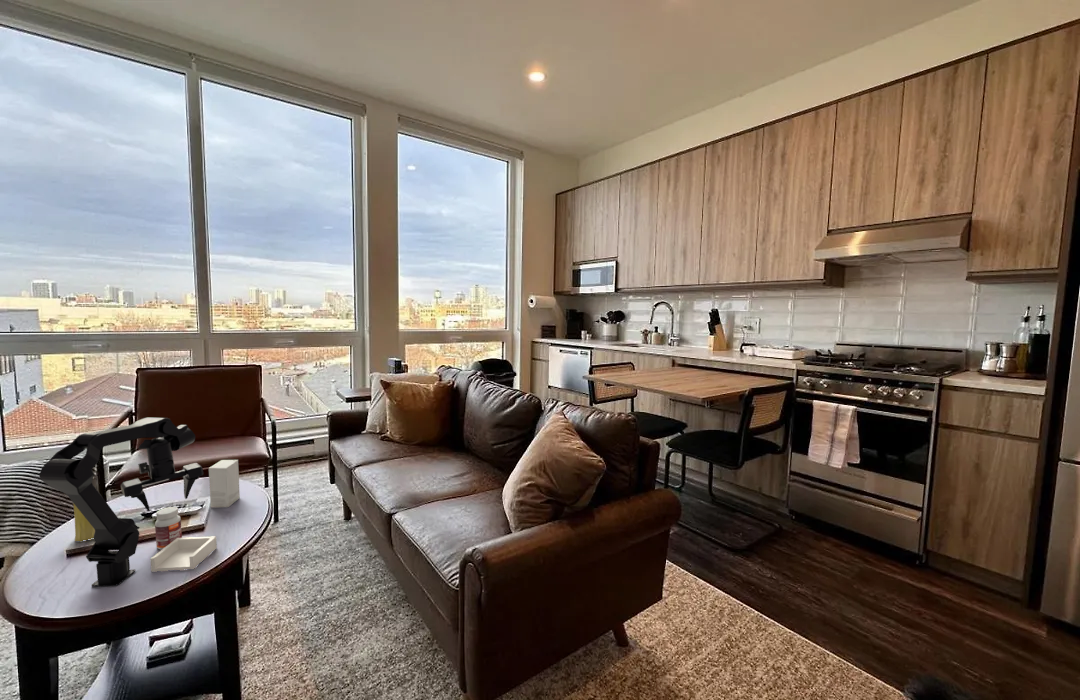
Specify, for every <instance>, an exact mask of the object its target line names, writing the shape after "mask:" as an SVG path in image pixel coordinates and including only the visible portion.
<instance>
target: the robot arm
mask: <svg viewBox="0 0 1080 700" xmlns="http://www.w3.org/2000/svg"><path fill="white" fill-rule="evenodd" d="M188 426H189V425H188V424H180V425H177V426H176V425H175V424H174V423H173V421H172V420H171V418H170V417H169V418H168V417H143V418H141V419H139V420H137V421H135V422H134V423H132V424H130V425H125V426H120V427H113V428H109V429H105V430H100V431H95V432H94V431H93V432H85V433H82V434H79V435H78V436H77V437H76V438H75V439H74V440H73V441H72V442H71V443H69V444H68V445H66V446H65V447H63V448H62V449H60V450H58V451H57V452H55V454H54V455H53V456H52V457H51V458H50V459H49V460H48V461H47V462H46V463H45V464H44V465H43V466H42V468H41V470H40V472H39V473H38V475H39V478H40V480H41V481H42V482H44V484H46V485H48V486H49V487H50V488H51V489H55V490H56V491H59V492H61V493H64V494H65V495H66V496H67V497H68V498H69V500H70V501H71V502H72V504H73V503H74V504H75V506H76V507H77V508H78V509H79V511H80V512H81V513H82V514H83V515H84V517H85V518H86V519H87V520H88V522H89V523H90V524H91V525H92V527H93V528H94V529H95V533H94V537H93V538H94V539H93V541H94V543H93V545H92V546H91V548H90V549H89V551H88V552H87V554H86V556H85V558H86V559H87V561H88V562H89V563H91V562H94V563H95V562H97V563H96V577H97V580H96V581H94V582H93V583H91V587H92V588H93V587H110V586H119V585H120V584H121V583H123V582H124V581H125V580H126V579H128V578H130V576H132V575H133V574H134V573H135V572H137V571H136V569H130V568H131V565H130V557H132V556H134V555H135V554H136V552H137V547H138V543H139V540H140V535H141V534H140V531H139V529H140V526H137V524H136V523H135V520H134V519H133V518H129V517H126V518H125V517H124V518H123V517H118V515H116V513H115V512H114V511H113V509H112V508H111V507H110V505H109V504H108V503H107V501H106V499H104V497H103V496H102V494H101V493H100V492H99V491H98V489H97V488H96V487H95V485H94V483H93V481H94V480H93V479H94V475H95V473H94V471H93V469H94V467H95V466H96V465H97V464H98V462H99V460H100V456H101V455H100V454H101V451H102V450H103V448H104V447H108V446H113V445H116V444H120V443H124V442H125V443H126V442H130V441H133V440H139V439H144V440H143V442H142V443H141V444H140V445H139V446H138V449H140V450H146V456H147V461H145V462H142V463H138V464H137V465H138V471H139V474H140V475H142V474H145V473H146V474H148V477H149V478H148V479H145V480H140V479H139V478H138V477H137V478H134V479H130V480H126V481H123V482H122V483H120V489H121V493H122V494H123V496H124V497H125V498H129V497H130V498H131V499H135V498H136V499H138V500H139V502H141V504H142V505H143V506H144V507H145V509H146V511H148V512H149V511H150V505H149V502H148V499H147V496H146V493H145V492H144V488H146V487H150V486H154V485H157V484H161V483H163V482H164V483H165V482H169V481H172V480H175V479H179V478H181V477H182V478H183V479H182V480H183V495H184V499H185V500H187V499H188V497H189V495H190V493H191V489H192V487H193V485H194V484H195V482H196V480H199V479H200V477H202V476H204V469H203V467H202V465H201V464H199V463H197V462H192V463H190V464H186V465H183V467H182V469H181V470H179V471H178V470H177V471H176V469H175V462H174V461H175V460H174V455H173V454H174V453H173V452H176V451H180V449H183V448H185V447H187V446H189V445H191V444H193V443H194V442H195V441H196V434H195V433H194V431H193V430H192V429H190V428H189V427H188ZM148 438H149V439H148ZM150 438H152V439H150ZM85 450H86V451H85ZM84 451H85V455H84V456H83V457H82V458H80V459H79V458H78V459H77V458H76V457H77V456H78V455H79V454H81V453H83V452H84ZM74 458H75V459H74Z"/></svg>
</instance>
